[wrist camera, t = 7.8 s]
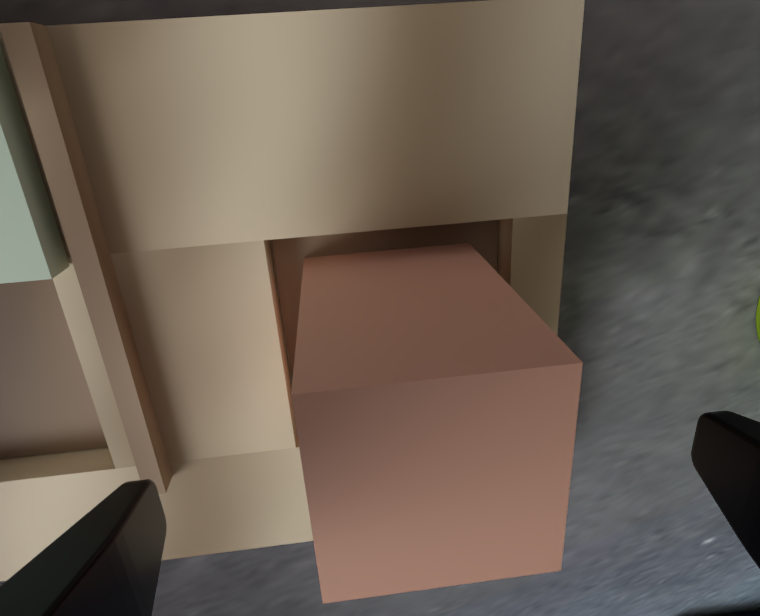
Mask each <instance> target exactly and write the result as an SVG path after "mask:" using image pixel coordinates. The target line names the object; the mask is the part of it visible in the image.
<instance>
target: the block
mask: <svg viewBox="0 0 760 616" xmlns="http://www.w3.org/2000/svg"><path fill="white" fill-rule="evenodd" d="M582 367H583V362H582V361H581V360H580V359H579V358H578V357H577V356H576V355H575V354H574V353H573V352H572V351H571V350H570V349H569V348H568V346H567V345H566V344H565V343H564V342H563V341H562V340H561V339H560V338H559V337H558V336H557V335H556V334H555V333H554V332H553V331H552V330H551V329H550V327H549V326H548V325H547V324H546V323H545V322H544V321H543V320H542V319H541V318H540V317H539V316H538V315H537V314H536V313H535V312H534V311H533V310H532V309H531V307H530V306H529V305H528V304H527V303H526V302H525V301H524V300H523V299H522V298H521V297H520V296H519V295H518V294H517V293H516V292H515V291H514V290H513V289H512V287H511V286H510V285H509V284H508V283H507V282H506V281H505V280H504V279H503V278H502V277H501V276H500V275H499V274H498V273H497V272H496V271H495V270H494V269H493V267H492V266H491V265H490V264H489V263H488V262H487V261H486V260H485V259H484V258H483V257H482V256H481V255H480V254H479V253H478V252H477V251H476V250H475V248H474V247H473V246H472V245H471V244H470V243H462V244H451V245H440V246H429V247H418V248H407V249H396V250H385V251H374V252H363V253H352V254H341V255H330V256H319V257H308V258H304V263H303V274H302V284H301V295H300V306H299V316H298V327H297V338H296V348H295V359H294V370H293V380H292V391H291V397H292V404H293V410H294V417H295V423H296V430H297V436H298V443H299V450H300V456H301V463H302V469H303V476H304V482H305V489H306V496H307V502H308V509H309V515H310V522H311V528H312V535H313V542H314V548H315V555H316V561H317V568H318V574H319V581H320V588H321V594H322V601H323V604H324V603H332V602H339V601H346V600H353V599H360V598H368V597H375V596H382V595H389V594H396V593H404V592H411V591H418V590H425V589H432V588H440V587H447V586H454V585H461V584H468V583H476V582H483V581H490V580H497V579H504V578H512V577H519V576H526V575H533V574H540V573H548V572H555V571H561V565H562V556H563V546H564V537H565V527H566V518H567V508H568V499H569V490H570V480H571V471H572V461H573V452H574V442H575V433H576V423H577V414H578V405H579V395H580V386H581V376H582Z"/></svg>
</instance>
